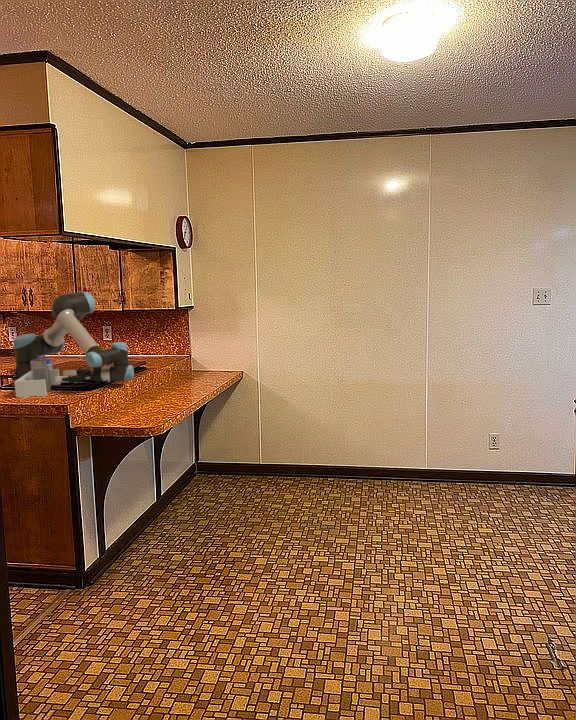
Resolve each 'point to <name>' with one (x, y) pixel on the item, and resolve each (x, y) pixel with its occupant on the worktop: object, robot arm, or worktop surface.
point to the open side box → (34, 384)
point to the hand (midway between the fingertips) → (59, 376)
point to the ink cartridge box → (41, 362)
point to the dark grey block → (42, 375)
